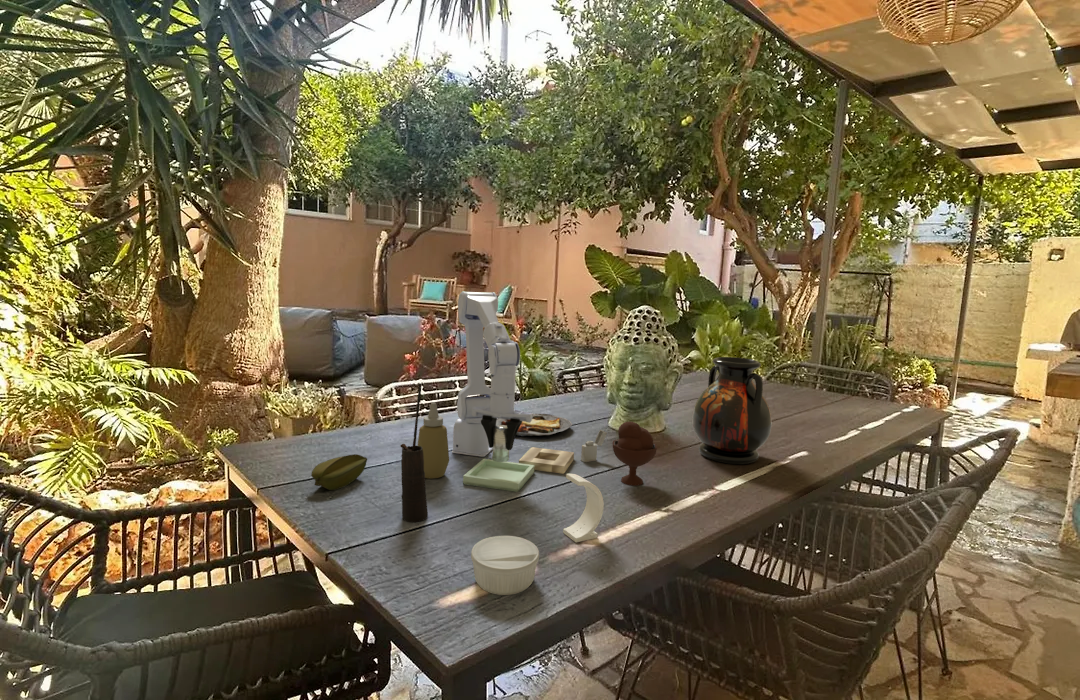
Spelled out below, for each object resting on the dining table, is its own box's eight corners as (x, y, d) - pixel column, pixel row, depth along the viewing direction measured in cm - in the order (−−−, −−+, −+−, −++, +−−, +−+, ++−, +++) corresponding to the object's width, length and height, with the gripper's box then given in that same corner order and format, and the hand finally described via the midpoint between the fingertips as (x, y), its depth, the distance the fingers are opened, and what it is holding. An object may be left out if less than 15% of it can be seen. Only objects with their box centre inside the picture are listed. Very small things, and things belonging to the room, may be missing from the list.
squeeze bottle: (454, 472, 145) (456, 401, 143) (438, 483, 138) (440, 408, 135) (426, 467, 148) (427, 397, 145) (408, 477, 140) (409, 404, 138)
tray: (462, 484, 138) (463, 475, 137) (483, 466, 151) (483, 458, 150) (518, 492, 134) (518, 483, 134) (534, 472, 147) (534, 465, 147)
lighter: (584, 462, 157) (585, 433, 156) (580, 460, 159) (582, 431, 157) (605, 459, 161) (607, 430, 160) (601, 457, 162) (603, 429, 161)
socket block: (518, 467, 150) (518, 460, 150) (531, 454, 162) (531, 447, 162) (563, 473, 147) (564, 466, 147) (573, 459, 159) (574, 452, 159)
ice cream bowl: (627, 492, 137) (632, 430, 135) (601, 476, 147) (605, 418, 144) (663, 486, 142) (668, 426, 140) (635, 471, 151) (639, 415, 149)
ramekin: (503, 608, 88) (505, 576, 88) (455, 580, 96) (456, 550, 95) (552, 581, 97) (553, 551, 96) (504, 557, 104) (505, 529, 103)
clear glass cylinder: (489, 460, 140) (490, 428, 139) (496, 455, 144) (497, 424, 143) (505, 462, 139) (506, 430, 138) (511, 458, 143) (512, 426, 142)
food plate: (481, 433, 180) (482, 422, 180) (507, 416, 202) (508, 406, 202) (559, 444, 173) (560, 432, 173) (578, 425, 195) (578, 414, 195)
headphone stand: (563, 532, 115) (566, 473, 113) (588, 527, 117) (592, 469, 116) (575, 542, 111) (579, 481, 109) (601, 536, 113) (605, 477, 112)
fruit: (314, 477, 138) (313, 450, 137) (367, 474, 141) (367, 448, 141) (310, 496, 127) (310, 467, 126) (368, 492, 131) (368, 463, 130)
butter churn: (377, 514, 119) (377, 379, 115) (417, 502, 126) (419, 374, 122) (401, 530, 113) (402, 387, 109) (442, 517, 119) (445, 382, 115)
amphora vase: (673, 449, 172) (681, 355, 168) (728, 442, 182) (736, 353, 178) (727, 473, 153) (737, 368, 149) (785, 463, 163) (795, 365, 159)
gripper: (468, 393, 137) (466, 448, 139) (527, 399, 134) (524, 456, 136) (478, 387, 144) (477, 440, 146) (535, 393, 141) (533, 447, 142)
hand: (500, 447), depth 141 cm, fingers closed on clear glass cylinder, 4 cm apart
